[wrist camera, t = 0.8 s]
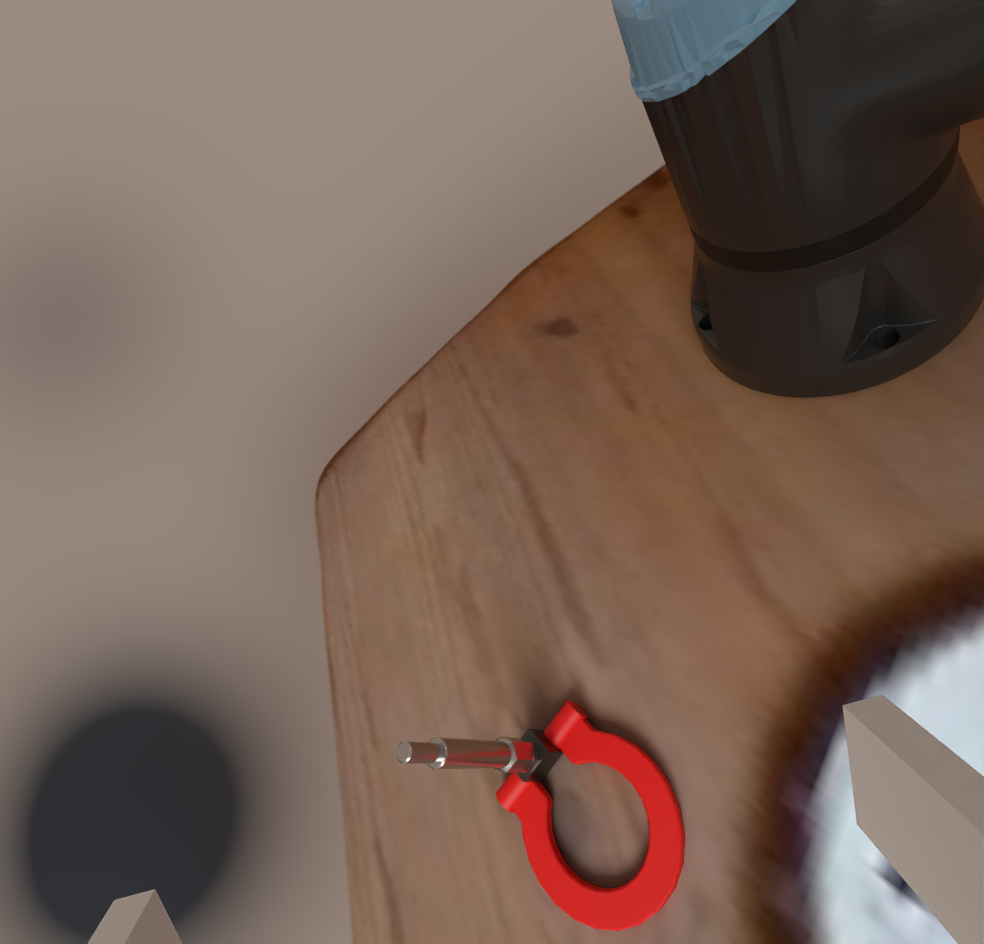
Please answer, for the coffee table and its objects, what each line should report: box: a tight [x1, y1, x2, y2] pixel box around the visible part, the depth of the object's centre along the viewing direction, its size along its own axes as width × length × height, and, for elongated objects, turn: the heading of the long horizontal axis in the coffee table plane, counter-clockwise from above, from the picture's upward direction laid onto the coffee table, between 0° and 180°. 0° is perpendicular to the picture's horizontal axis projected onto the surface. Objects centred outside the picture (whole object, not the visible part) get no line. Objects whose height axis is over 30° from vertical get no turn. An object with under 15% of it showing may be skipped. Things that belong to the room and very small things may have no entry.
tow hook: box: [397, 700, 685, 931], centre depth 24 cm, size 8×13×9 cm
